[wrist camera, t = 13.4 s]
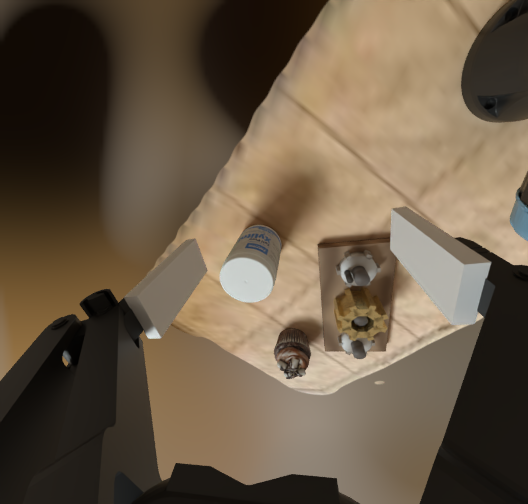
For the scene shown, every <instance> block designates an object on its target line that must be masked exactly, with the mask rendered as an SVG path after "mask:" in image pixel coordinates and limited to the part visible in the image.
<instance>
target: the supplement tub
mask: <svg viewBox="0 0 528 504" xmlns="http://www.w3.org/2000/svg"><path fill="white" fill-rule="evenodd" d="M280 253H281V240H280V237H279V236H278V234H277V233H276V232H275V231H274V230H273V229H271V228H270V227H268V226H264V225H253V226H251V227H249V228H247V229H245V230H244V231H243V232H242V234H241V235H240V237H239V239H238V240H237V242H236V244H235V245H234V247H233V249H232V250H231V252H230V253H229V255H228V257H227V258H226V260H225V262H224V263H223V266H222V268H221V271H220V282H221V285H222V287H223V289H224V290H225V291H226V292H227V293H228V294H229V295H230V296H231V297H233V298H235V299H237V300H239V301H242V302H258V301H261V300H263V299H265V298H266V297H267V296H268V295H269V294H270V293H271V291H272V289H273V286H274V284H275V280H276V275H277V270H278V264H279V259H280Z"/></svg>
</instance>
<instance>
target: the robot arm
mask: <svg viewBox="0 0 528 504" xmlns="http://www.w3.org/2000/svg"><path fill="white" fill-rule="evenodd" d="M461 88H462V95H463V99H464V102H465V104H466V106H467V107H468V109H469V110H470V111H471V112H472V113H473V114H474V115H475V116H476V117H478V118H480V119H482V120H485V121H489V122H513V121H520V120H525V119H528V0H510V1H509V2H508V3H507V4H505V5H504V6H503V7H502V8H501V9H500V10H499V11H498V12H497V13H496V14H495V15H494V16H493V17H492V18H491V19H490V20H489V21H488V23H487V24H486V25H485V26H484V28H483V29H482V30H481V32H480V33H479V35H478V36H477V38H476V40H475V41H474V43H473V45H472V47H471V49H470V51H469V53H468V56H467V58H466V61H465V64H464V68H463V73H462V81H461ZM510 224H511V225H512V227H513V228H514V230H515V232H516V233H517V234H518V235H520V236H521V237H522V238H524V239H525V240H527V241H528V172H527V174H526V176H525V178H524V181H523V183H522V185H521V187H520V188H519V189H518V190H517V192H516V201H515V204H514V207H513V210H512V213H511V215H510ZM390 250H391V251H392V252H393V253H394V255H395V256H396V257H397V258H398V260H399V261H400V262H401V263H402V265H403V266H404V267H405V268H406V269H407V271H408V272H409V273H410V274H411V276H412V277H413V278H414V279H415V280H416V282H417V283H418V284H419V285H420V287H421V288H422V289H423V290H424V292H425V293H426V294H427V295H428V296H429V298H430V299H431V300H432V301H433V303H434V304H435V305H436V306H437V308H438V309H439V310H440V311H441V312H442V314H443V315H444V316H445V317H446V319H447V320H448V321H449V322H450V323H451V325H462V324H475V321H476V317H477V314H478V312H479V313H480V314H481V315H482V316H483V317H484V318H485V319H484V322H483V325H482V327H481V330H480V333H479V336H478V339H477V342H476V345H475V348H474V351H473V354H472V357H471V360H470V362H469V366H468V368H467V371H466V374H465V377H464V380H463V383H462V386H461V389H460V392H459V395H458V398H457V400H456V404H455V406H454V409H453V412H452V415H451V418H450V421H449V424H448V427H447V430H446V433H445V436H444V438H443V441H442V444H441V446H440V448H439V450H438V453H437V456H436V459H435V461H434V464H433V467H432V470H431V472H430V475H429V478H428V481H427V484H426V487H425V491H424V493H423V496H422V499H421V501H420V504H528V266H525V265H512V264H510V263H509V262H507V261H505V260H504V259H502V258H500V257H499V256H497V255H495V254H494V253H492V252H490V251H489V250H487V249H485V248H482V246H480V245H479V244H477V243H475V242H474V241H471V240H468V239H464V238H461V237H458V238H453V237H452V236H450V235H449V234H447V233H446V232H444V231H443V230H441V229H439V228H438V227H436V226H435V225H433V224H432V223H430V222H429V221H427V220H426V219H424V218H423V217H421V216H419V215H418V214H416V213H415V212H413V211H412V210H410V209H409V208H407V207H400V208H393V209H392V213H391V238H390ZM206 272H207V268H206V265H205V262H204V260H203V257H202V254H201V252H200V249H199V246H198V244H197V241H196V239H190V240H186V241H185V242H184V243H182V244H181V245H180V246H179V247H178V248H177V249H176V250H175V251H174V252H173V253H172V254H170V255H169V256H168V257H167V258H166V259H165V260H164V261H163V262H162V263H161V264H160V265H158V266H157V267H156V268H155V269H154V270H153V271H152V272H151V273H150V274H149V275H148V276H146V277H145V278H144V279H143V280H142V281H141V282H140V283H139V284H138V285H137V286H136V287H134V288H133V289H132V290H131V291H130V292H129V293H128V294H127V295H126V296H125V297H124V298H123V299H122V300H121V301H120V302H119V303H118V301H117V300H116V298H115V297H114V295H113V294H112V292H111V290H110V289H104V290H100V291H98V292H95V293H93V294H91V295H89V296H88V297H86V298H85V299H84V300H83V301H81V303H80V306H81V307H82V309H83V310H84V311H85V313H86V314H87V315H88V317H89V319H87V320H84V321H79V319H78V318H77V316H76V315H73V314H71V315H67V316H65V317H61V318H59V319H57V320H55V321H54V322H53V323H52V324H50V325H49V326H48V327H47V328H45V330H44V331H43V332H42V333H41V334H40V335H39V336H38V338H37V339H36V340H35V341H34V342H33V343H32V345H31V346H30V347H29V348H28V349H27V351H26V352H25V353H24V354H23V355H22V356H21V357H20V359H19V360H18V361H17V362H16V363H15V364H14V366H13V367H12V368H11V369H10V370H9V371H8V373H7V374H6V375H5V376H4V377H3V379H2V380H1V381H0V504H359V503H358V502H356V501H355V500H353V499H352V498H350V497H348V496H346V495H344V494H341V493H340V492H339V491H338V485H337V478H327V477H317V476H306V475H296V474H291V475H287V476H283V477H280V478H276V479H272V480H269V481H265V482H261V483H257V484H253V485H245V484H243V483H241V482H239V481H237V480H235V479H233V478H231V477H229V476H228V475H226V474H224V473H222V472H220V471H218V470H216V469H214V468H212V467H211V466H200V465H191V464H180V463H176V464H175V467H174V469H173V472H172V475H171V477H170V478H168V479H166V480H164V481H162V480H161V478H160V475H159V471H158V466H157V458H156V449H155V441H154V432H153V424H152V417H151V408H150V401H149V392H148V384H147V375H146V368H145V359H144V351H143V342H142V340H141V338H140V337H139V335H140V334H141V333H142V332H143V330H144V332H145V333H146V335H147V337H148V338H149V339H150V338H151V339H152V338H162V336H163V335H164V333H165V332H166V330H167V329H168V328H169V326H170V325H171V323H172V322H173V320H174V319H175V317H176V316H177V314H178V313H179V311H180V310H181V308H182V307H183V306H184V304H185V303H186V301H187V300H188V298H189V297H190V295H191V294H192V292H193V291H194V289H195V288H196V287H197V285H198V284H199V282H200V281H201V279H202V278H203V276H204V275H205V273H206ZM62 356H63V357H64V358H65V359H66V360H67V361H68V365H67V367H66V366H65V365H64V363H63V361H62Z"/></svg>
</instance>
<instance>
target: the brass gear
mask: <svg viewBox="0 0 528 504" xmlns="http://www.w3.org/2000/svg"><path fill="white" fill-rule="evenodd" d="M344 291H345V294H344V295H343V296H342V297H341V298H337V297H335V299H334V301H333V302H334V306H335V310H334V314H335V319H336V324H337V329H338V331H339V333H343V332H345V333H347V334H348V336H349V339H350V340H353V341H355V340H356V339H357V338H367V339H368V341H371V340H374V338H373V336H374V335H375V334H377V333H378V332H380V331H381V332H384V333H385V332H386V330H387V329H388V328H387V326H386V324H385V322H384V320H385V319H389V318H388V316H387V314H386V312H385V310H384V308H383V306H382V304H381V302H380V300H379V298H378V296H374V297H372V296H371V294H370V292H369V290H368V288H364V287H363V288H362V289H361V291H351V290H350V288H348V289H345V290H344ZM358 316H367V319H368V323H367V324H366V325H364V326H357V325H356V324H355V323H354V319H355V318H356V317H358Z"/></svg>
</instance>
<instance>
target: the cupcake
mask: <svg viewBox="0 0 528 504" xmlns="http://www.w3.org/2000/svg"><path fill="white" fill-rule="evenodd" d="M274 354H275V359H276V361H277V366H278V367H279V368H280V370H281V371H284V376H285V377H286V379H292V378H295V377H296V376H299V377H302V376H303V375H305V374H306V373H305V370H306V368H307V367H308V365H309V359H310V356H311V352H310V348H309V344H308V340H307V337H306V336H305V334H304V333H303V332H302V331H300V330H297V329H286V330H284V331H282V332H281V333H280V335H279V337H278V341H277V344H276V346H275V349H274Z"/></svg>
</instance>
